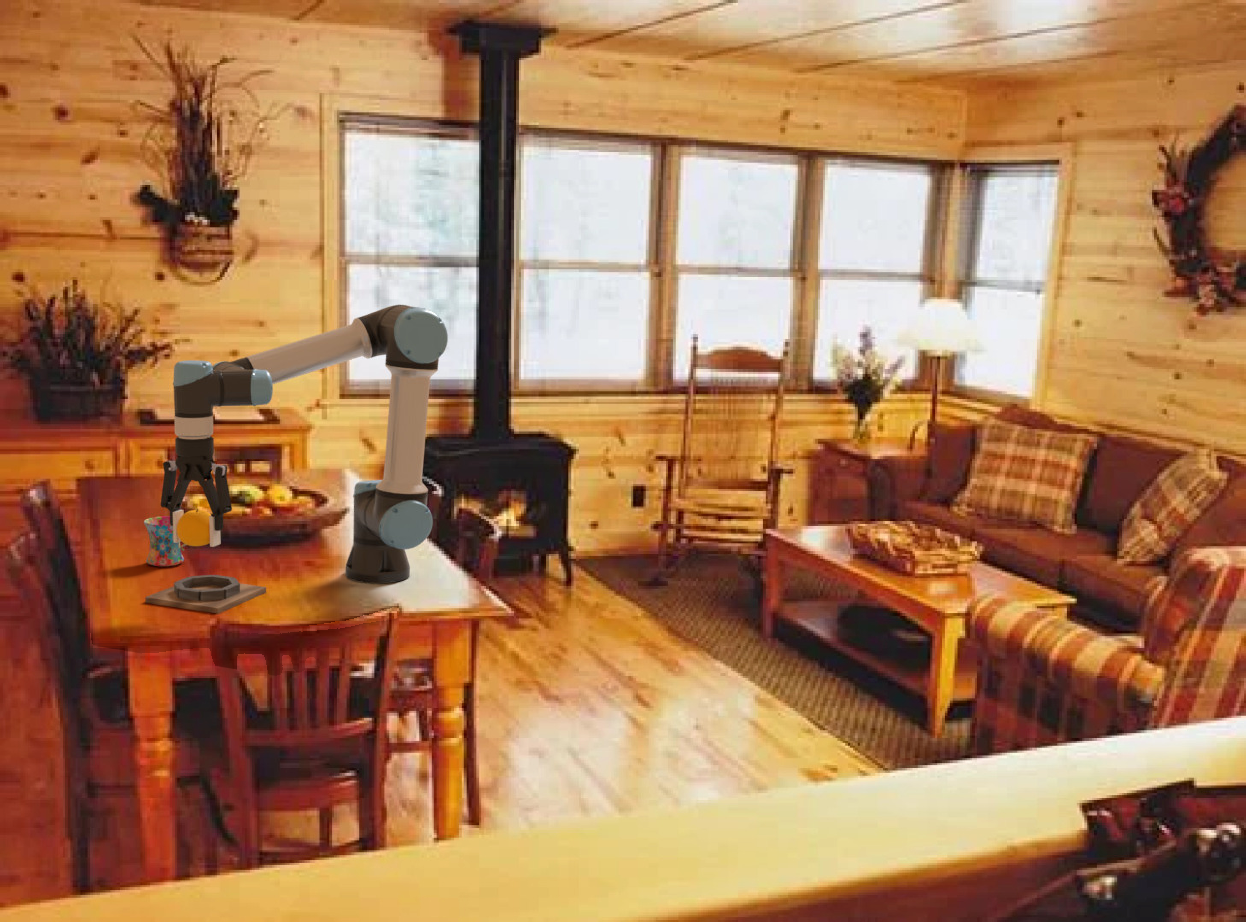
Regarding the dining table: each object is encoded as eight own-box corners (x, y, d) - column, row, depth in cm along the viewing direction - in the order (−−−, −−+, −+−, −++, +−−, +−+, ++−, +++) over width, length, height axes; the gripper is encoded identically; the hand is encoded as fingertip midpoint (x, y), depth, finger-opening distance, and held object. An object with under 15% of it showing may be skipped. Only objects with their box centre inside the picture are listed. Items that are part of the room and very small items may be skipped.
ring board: (266, 592, 277) (266, 578, 276) (218, 613, 260) (218, 598, 259) (196, 582, 282) (196, 568, 281) (145, 602, 265) (145, 588, 264)
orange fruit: (169, 546, 257) (168, 511, 255) (193, 538, 264) (192, 503, 263) (201, 551, 254) (200, 515, 253) (225, 542, 262) (224, 507, 260)
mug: (147, 570, 289) (147, 526, 288) (141, 560, 297) (141, 517, 295) (201, 566, 295) (200, 522, 293) (193, 556, 303) (193, 514, 301)
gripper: (249, 437, 256) (251, 543, 260) (161, 429, 261) (164, 534, 265) (228, 442, 249) (231, 552, 253) (139, 434, 254) (142, 542, 258)
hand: (197, 543), depth 259 cm, fingers closed on orange fruit, 8 cm apart
